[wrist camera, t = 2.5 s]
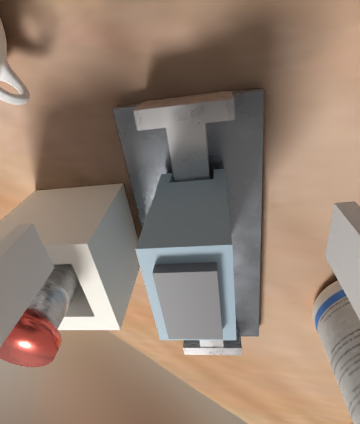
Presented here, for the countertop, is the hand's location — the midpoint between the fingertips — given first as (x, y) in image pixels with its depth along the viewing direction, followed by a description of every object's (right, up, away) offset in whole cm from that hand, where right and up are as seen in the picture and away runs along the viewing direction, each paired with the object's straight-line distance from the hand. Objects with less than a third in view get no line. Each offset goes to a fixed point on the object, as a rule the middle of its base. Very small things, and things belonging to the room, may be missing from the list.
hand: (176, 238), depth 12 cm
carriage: (+2, +1, +9) cm, 10 cm away
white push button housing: (-8, 0, +13) cm, 15 cm away
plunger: (-8, -2, +9) cm, 13 cm away
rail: (+2, -2, +13) cm, 13 cm away
